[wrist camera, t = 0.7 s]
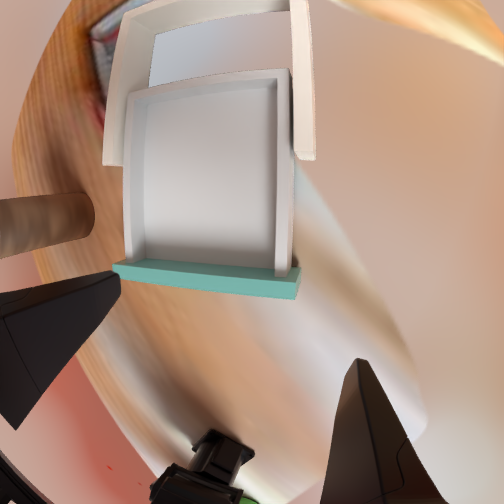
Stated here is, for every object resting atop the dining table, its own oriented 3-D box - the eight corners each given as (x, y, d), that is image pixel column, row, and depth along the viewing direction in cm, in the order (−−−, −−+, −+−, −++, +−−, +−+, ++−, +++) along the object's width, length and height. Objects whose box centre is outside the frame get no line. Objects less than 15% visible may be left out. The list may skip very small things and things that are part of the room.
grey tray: (300, 282, 23) (294, 299, 19) (139, 266, 26) (113, 277, 22) (303, 82, 19) (298, 61, 15) (140, 102, 23) (114, 92, 19)
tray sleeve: (315, 160, 21) (312, 151, 17) (133, 167, 25) (102, 165, 21) (308, 1, 18) (302, -28, 13) (147, 29, 22) (123, 13, 17)
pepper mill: (87, 246, 28) (-12, 275, 16) (63, 223, 29) (-30, 242, 16) (100, 205, 27) (-10, 221, 14) (74, 184, 27) (-26, 192, 15)
